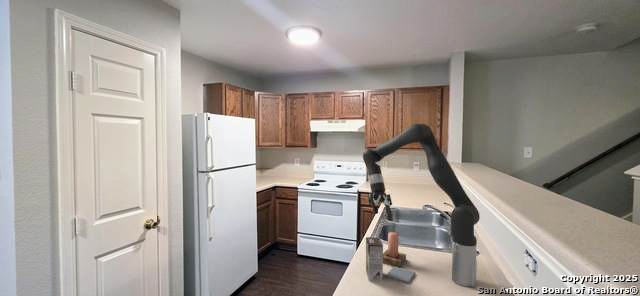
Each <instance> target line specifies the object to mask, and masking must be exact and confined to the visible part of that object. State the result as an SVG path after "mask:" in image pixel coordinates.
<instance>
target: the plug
mask: <svg viewBox="0 0 640 296" xmlns="http://www.w3.org/2000/svg"><path fill="white" fill-rule="evenodd" d="M387 233H388V235H387V237H388V238H387V250H388V257H391V258H395V259H397V258H398V252H399V232H395V231H394V232H393V231H391V232H390V231H389V232H387Z"/></svg>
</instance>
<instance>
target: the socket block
mask: <svg viewBox="0 0 640 296" xmlns="http://www.w3.org/2000/svg"><path fill="white" fill-rule="evenodd" d="M406 261H407V254H406V253H402V252H399V251H398V258H397V259H395V258H391V257H388V249H386V250H385V251H383V264H384V265H388V266H391V267H394V266H395V267H398V268H401V267H402V265H404V263H405V262H406Z"/></svg>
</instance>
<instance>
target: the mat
mask: <svg viewBox="0 0 640 296" xmlns="http://www.w3.org/2000/svg"><path fill="white" fill-rule="evenodd" d="M415 276H416V272H415V271H412V270H408V269H406V268H403V267H402V268H401V267H400V268H398V267H395V266H392V268H391V269H390V270H389V271H388V272H387V273H386V274H385V277H386V278H387V279H391V280H393V281H397V282H401V283H404V284H407V285H409V284H410V282H411V281H412V280H413V278H414V277H415Z"/></svg>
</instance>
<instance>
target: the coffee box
mask: <svg viewBox="0 0 640 296" xmlns="http://www.w3.org/2000/svg"><path fill="white" fill-rule="evenodd" d="M383 253H384V245H383V243H382V240H381V238H380V237H370V236H367V237H365V272H366V276H367V279H368V282H369V281H371V282H372V281H377V282H382V281H383V278H384V277H383V266H384V265H383V264H384V263H383Z"/></svg>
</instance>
